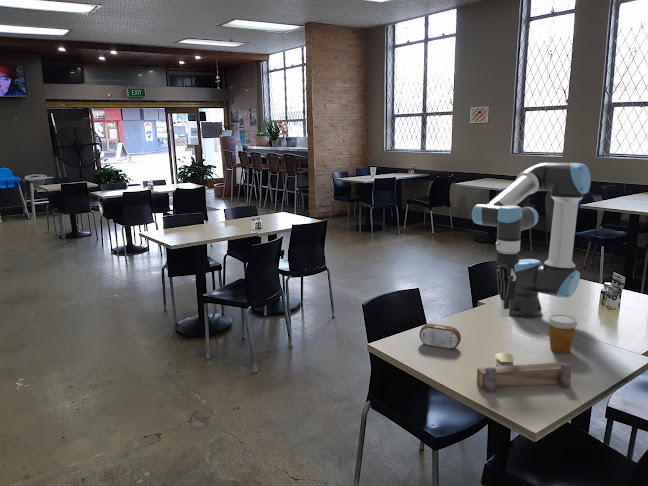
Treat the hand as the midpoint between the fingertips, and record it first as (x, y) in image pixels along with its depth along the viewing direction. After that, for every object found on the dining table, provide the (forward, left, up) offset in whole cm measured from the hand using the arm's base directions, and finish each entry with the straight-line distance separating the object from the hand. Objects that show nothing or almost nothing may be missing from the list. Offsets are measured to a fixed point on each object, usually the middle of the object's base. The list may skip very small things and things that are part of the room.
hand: (504, 316), depth 173 cm
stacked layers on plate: (+13, -5, -15) cm, 20 cm away
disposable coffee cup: (-1, +22, -15) cm, 26 cm away
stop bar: (+22, -2, -14) cm, 26 cm away
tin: (-9, -20, -15) cm, 27 cm away
